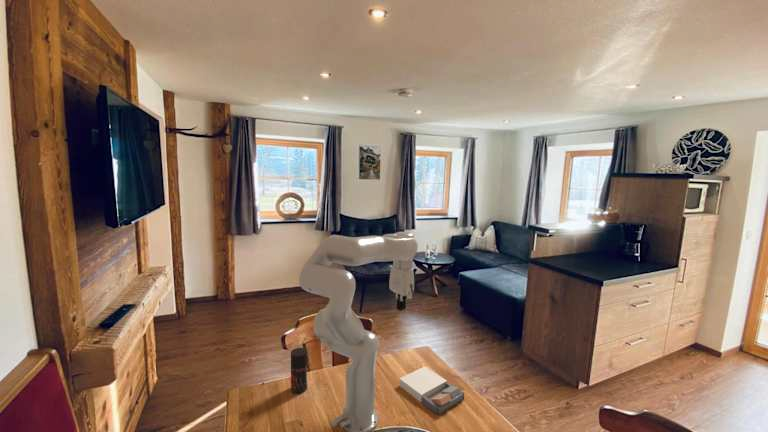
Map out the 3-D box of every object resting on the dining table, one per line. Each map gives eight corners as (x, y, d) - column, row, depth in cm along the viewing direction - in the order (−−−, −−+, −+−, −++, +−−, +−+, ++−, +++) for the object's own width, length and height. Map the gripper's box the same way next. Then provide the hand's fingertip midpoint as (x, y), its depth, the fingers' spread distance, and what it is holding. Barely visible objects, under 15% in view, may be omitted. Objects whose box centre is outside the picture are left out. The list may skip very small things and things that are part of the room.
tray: (438, 415, 117) (438, 409, 116) (421, 402, 123) (421, 396, 123) (463, 399, 126) (464, 393, 125) (447, 388, 132) (447, 382, 131)
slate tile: (440, 391, 126) (442, 397, 126) (450, 392, 122) (452, 398, 122) (449, 386, 129) (451, 391, 129) (459, 387, 125) (461, 393, 125)
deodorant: (308, 392, 127) (308, 354, 125) (291, 395, 125) (291, 357, 123) (305, 382, 132) (305, 346, 130) (290, 385, 130) (289, 349, 128)
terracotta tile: (430, 399, 122) (432, 405, 121) (440, 399, 118) (441, 405, 117) (440, 393, 125) (441, 399, 124) (449, 393, 121) (451, 399, 120)
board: (421, 402, 123) (421, 394, 123) (399, 385, 132) (399, 378, 132) (446, 387, 132) (447, 380, 131) (424, 372, 141) (424, 366, 141)
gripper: (383, 261, 134) (381, 305, 137) (409, 270, 123) (406, 318, 125) (397, 258, 139) (395, 301, 141) (423, 267, 127) (421, 313, 130)
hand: (401, 309), depth 133 cm, fingers closed
